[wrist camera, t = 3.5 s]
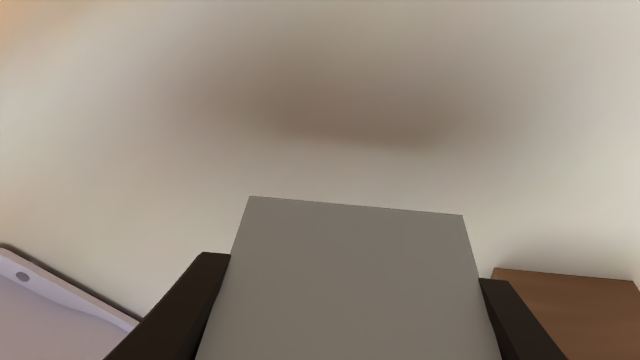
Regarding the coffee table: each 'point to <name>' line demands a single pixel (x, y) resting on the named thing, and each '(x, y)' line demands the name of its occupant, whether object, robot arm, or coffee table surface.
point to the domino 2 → (582, 312)
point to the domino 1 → (348, 287)
